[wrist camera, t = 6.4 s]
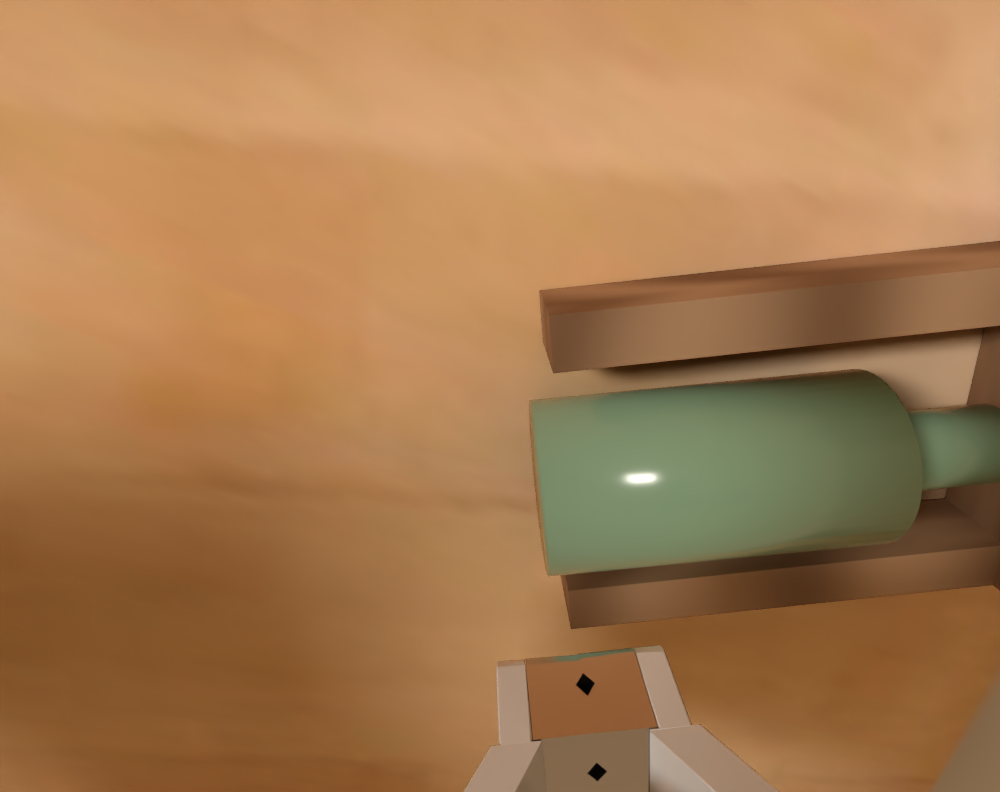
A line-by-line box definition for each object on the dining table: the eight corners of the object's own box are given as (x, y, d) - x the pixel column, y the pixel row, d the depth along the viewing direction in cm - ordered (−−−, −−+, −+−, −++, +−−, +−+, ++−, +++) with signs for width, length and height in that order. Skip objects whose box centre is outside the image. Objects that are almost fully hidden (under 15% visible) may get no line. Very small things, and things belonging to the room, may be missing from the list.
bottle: (553, 615, 15) (1042, 569, 15) (541, 448, 14) (1093, 394, 14) (536, 513, 20) (915, 476, 20) (525, 376, 18) (941, 336, 18)
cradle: (560, 574, 21) (578, 668, 17) (539, 290, 17) (556, 334, 13) (965, 532, 21) (1069, 617, 17) (1041, 236, 17) (1198, 266, 13)
